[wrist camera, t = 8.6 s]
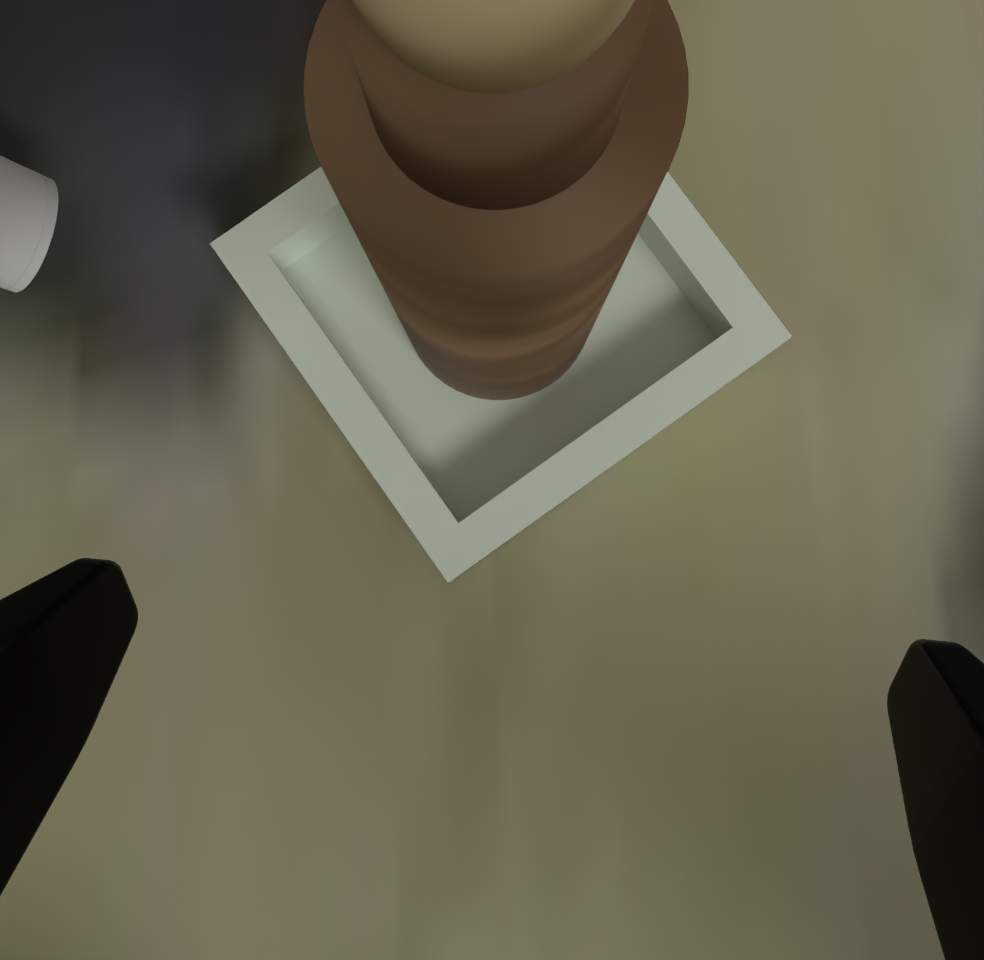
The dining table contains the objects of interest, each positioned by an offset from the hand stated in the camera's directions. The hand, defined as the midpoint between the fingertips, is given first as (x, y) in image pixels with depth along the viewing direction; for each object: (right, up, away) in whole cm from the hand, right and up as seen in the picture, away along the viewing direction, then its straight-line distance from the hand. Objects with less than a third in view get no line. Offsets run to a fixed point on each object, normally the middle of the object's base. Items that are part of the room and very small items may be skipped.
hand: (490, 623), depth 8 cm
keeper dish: (0, +6, +11) cm, 12 cm away
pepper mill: (0, +6, +10) cm, 12 cm away
